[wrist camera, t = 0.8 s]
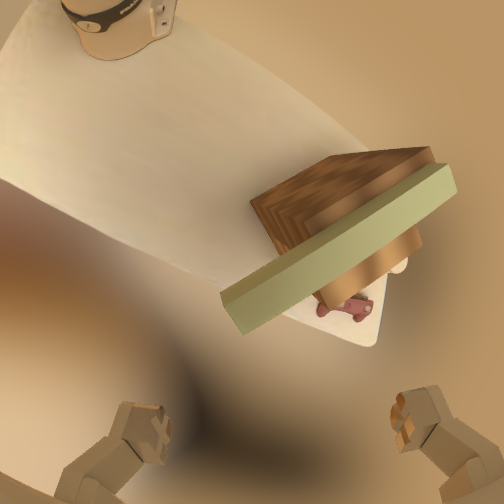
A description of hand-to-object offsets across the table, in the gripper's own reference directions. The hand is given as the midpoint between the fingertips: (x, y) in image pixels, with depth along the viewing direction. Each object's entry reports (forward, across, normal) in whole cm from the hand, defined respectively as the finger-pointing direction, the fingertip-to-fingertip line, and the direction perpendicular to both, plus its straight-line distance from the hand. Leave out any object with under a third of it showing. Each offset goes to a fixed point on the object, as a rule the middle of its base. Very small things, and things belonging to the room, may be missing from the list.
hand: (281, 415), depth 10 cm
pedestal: (+44, -7, +10) cm, 45 cm away
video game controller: (+41, -13, +27) cm, 51 cm away
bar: (+19, -7, +2) cm, 20 cm away
